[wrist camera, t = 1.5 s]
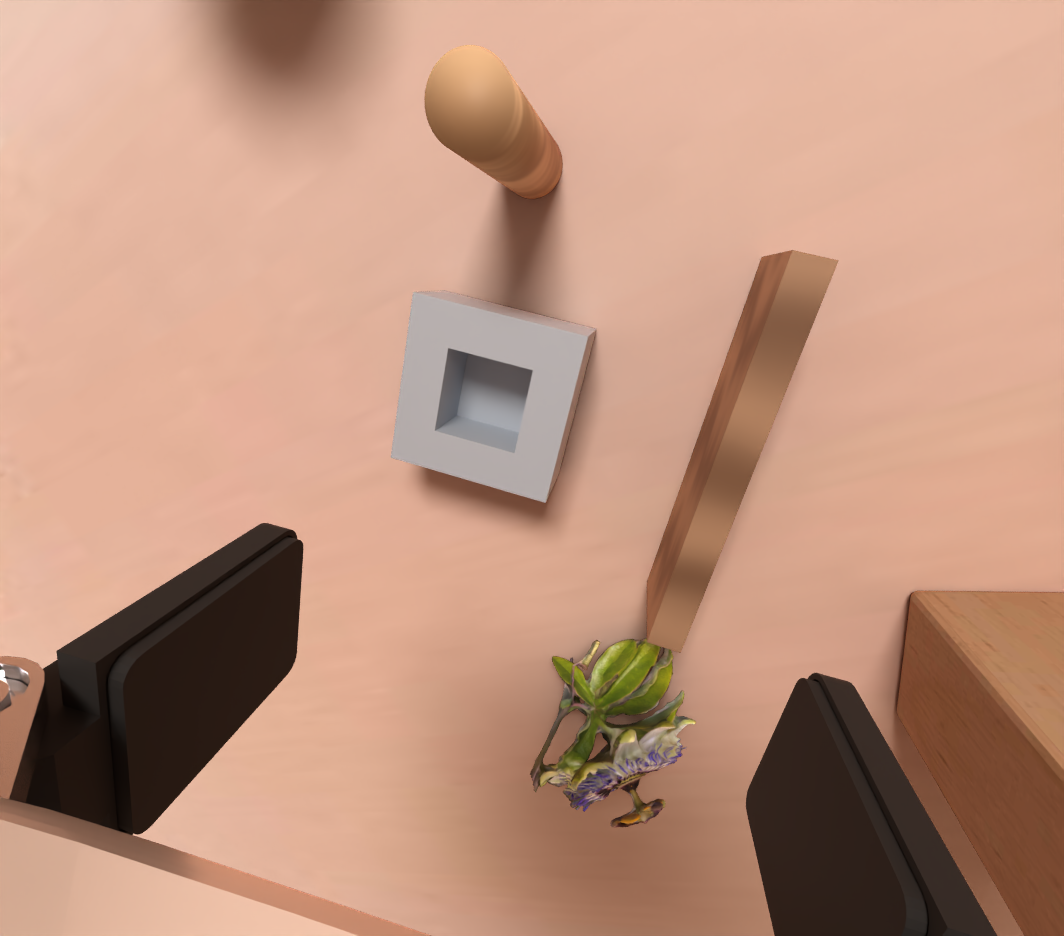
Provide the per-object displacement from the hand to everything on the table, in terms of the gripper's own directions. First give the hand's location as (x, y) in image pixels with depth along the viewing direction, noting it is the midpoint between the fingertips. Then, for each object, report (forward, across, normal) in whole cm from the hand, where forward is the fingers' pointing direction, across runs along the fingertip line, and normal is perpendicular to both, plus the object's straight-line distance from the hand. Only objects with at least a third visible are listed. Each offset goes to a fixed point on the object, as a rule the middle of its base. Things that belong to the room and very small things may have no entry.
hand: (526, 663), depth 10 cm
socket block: (+27, +6, +1) cm, 27 cm away
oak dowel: (+26, +7, -12) cm, 30 cm away
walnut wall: (+26, -8, +1) cm, 27 cm away
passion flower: (+27, -6, +22) cm, 36 cm away
